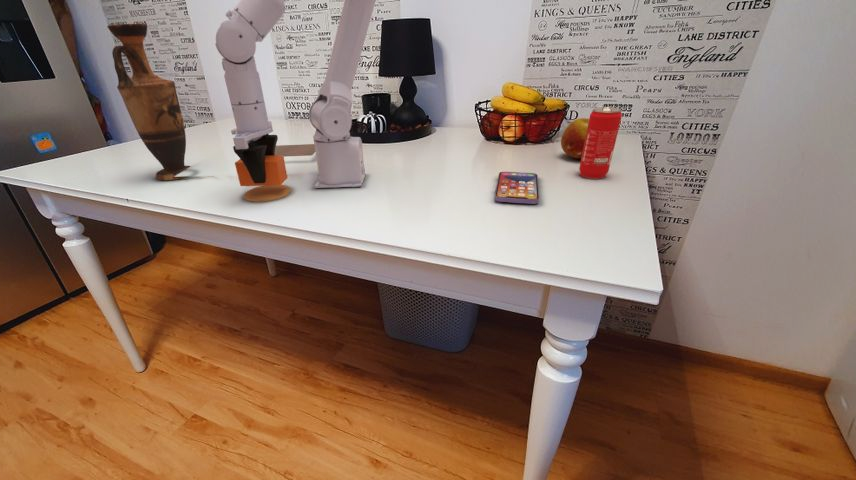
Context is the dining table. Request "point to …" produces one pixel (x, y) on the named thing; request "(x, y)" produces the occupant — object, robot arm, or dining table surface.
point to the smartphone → (517, 188)
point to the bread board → (295, 150)
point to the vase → (150, 102)
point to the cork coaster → (267, 193)
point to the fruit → (575, 137)
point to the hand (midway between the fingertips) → (264, 178)
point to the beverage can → (600, 142)
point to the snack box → (272, 168)
